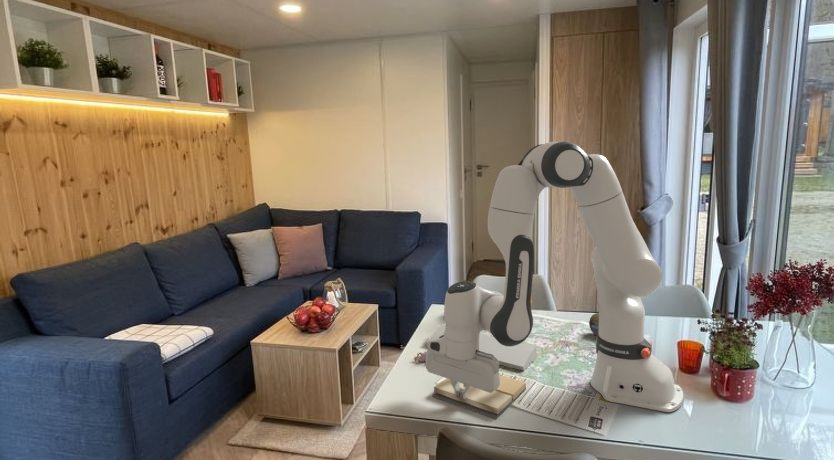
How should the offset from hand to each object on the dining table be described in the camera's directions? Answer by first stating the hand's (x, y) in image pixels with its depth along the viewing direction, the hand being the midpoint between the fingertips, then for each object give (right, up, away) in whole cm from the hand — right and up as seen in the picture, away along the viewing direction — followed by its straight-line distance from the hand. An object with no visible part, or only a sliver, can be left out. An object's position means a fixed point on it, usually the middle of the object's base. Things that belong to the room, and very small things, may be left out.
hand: (461, 396), depth 123 cm
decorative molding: (+9, +3, +31) cm, 32 cm away
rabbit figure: (-5, +2, +25) cm, 25 cm away
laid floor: (+5, -1, +6) cm, 8 cm away
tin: (+53, +6, +36) cm, 65 cm away
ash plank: (+3, -1, +3) cm, 4 cm away
